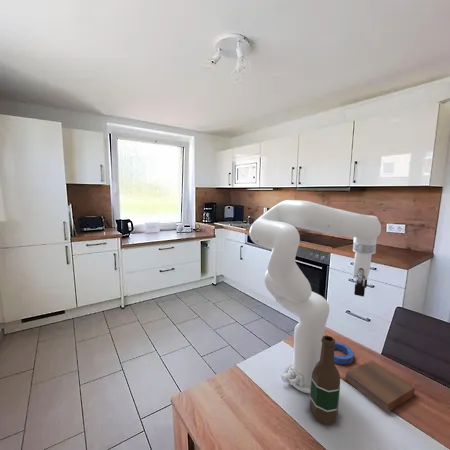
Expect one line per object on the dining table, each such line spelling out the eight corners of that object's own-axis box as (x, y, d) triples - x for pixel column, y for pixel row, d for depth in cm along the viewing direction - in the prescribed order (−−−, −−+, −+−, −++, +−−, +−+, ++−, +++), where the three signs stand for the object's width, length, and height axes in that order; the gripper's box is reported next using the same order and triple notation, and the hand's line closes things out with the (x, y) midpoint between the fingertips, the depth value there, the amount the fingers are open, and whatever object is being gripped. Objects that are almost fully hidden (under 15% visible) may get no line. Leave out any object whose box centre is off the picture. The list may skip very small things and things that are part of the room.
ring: (339, 368, 90) (340, 362, 89) (317, 351, 99) (317, 345, 99) (358, 359, 94) (359, 354, 94) (336, 344, 104) (336, 338, 103)
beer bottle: (341, 428, 67) (347, 348, 63) (311, 423, 68) (316, 345, 65) (334, 404, 74) (339, 332, 71) (307, 400, 76) (311, 329, 73)
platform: (387, 413, 72) (388, 404, 71) (345, 380, 84) (346, 372, 84) (414, 396, 78) (415, 387, 77) (371, 367, 90) (372, 360, 90)
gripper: (355, 242, 101) (352, 282, 103) (349, 251, 87) (346, 296, 89) (377, 245, 97) (373, 286, 99) (374, 254, 83) (370, 301, 85)
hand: (360, 291), depth 94 cm, fingers open, 9 cm apart
